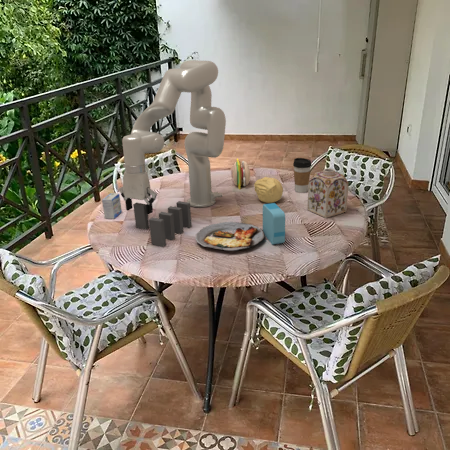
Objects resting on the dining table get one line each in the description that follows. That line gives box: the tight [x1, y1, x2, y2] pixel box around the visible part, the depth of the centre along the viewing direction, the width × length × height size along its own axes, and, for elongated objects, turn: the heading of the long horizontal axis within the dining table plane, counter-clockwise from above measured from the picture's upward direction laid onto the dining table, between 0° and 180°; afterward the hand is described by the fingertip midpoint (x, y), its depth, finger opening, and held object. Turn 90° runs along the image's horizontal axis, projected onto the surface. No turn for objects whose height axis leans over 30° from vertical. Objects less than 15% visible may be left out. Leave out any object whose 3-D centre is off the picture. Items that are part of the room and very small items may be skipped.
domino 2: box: [148, 217, 167, 248], centre depth 162 cm, size 2×5×10 cm, turn 63°
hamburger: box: [232, 158, 251, 190], centre depth 220 cm, size 12×8×12 cm
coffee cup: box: [292, 157, 312, 194], centre depth 209 cm, size 8×8×15 cm
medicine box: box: [101, 192, 123, 220], centre depth 190 cm, size 8×4×9 cm, turn 168°
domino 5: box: [175, 200, 192, 229], centre depth 176 cm, size 2×5×10 cm, turn 63°
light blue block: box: [262, 202, 286, 245], centre depth 163 cm, size 12×4×12 cm, turn 14°
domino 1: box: [132, 202, 150, 230], centre depth 176 cm, size 2×5×10 cm, turn 63°
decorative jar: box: [307, 168, 349, 219], centre depth 185 cm, size 12×12×18 cm
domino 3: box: [158, 211, 176, 241], centre depth 167 cm, size 2×5×10 cm, turn 63°
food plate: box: [195, 221, 266, 252], centre depth 166 cm, size 25×23×4 cm
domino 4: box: [167, 206, 184, 235], centre depth 172 cm, size 2×5×10 cm, turn 63°
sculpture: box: [253, 176, 284, 204], centre depth 200 cm, size 12×12×11 cm
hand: (139, 211), depth 175 cm, fingers open, 9 cm apart
